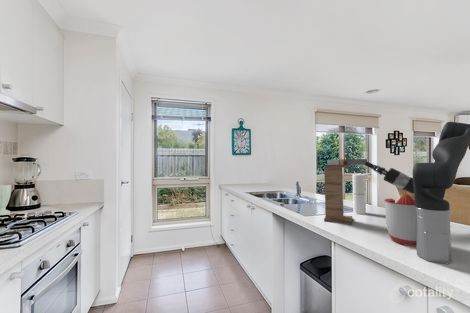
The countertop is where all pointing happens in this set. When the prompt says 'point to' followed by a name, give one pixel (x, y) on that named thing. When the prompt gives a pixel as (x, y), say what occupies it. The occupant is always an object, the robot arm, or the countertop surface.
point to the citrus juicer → (401, 220)
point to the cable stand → (335, 194)
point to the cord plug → (349, 162)
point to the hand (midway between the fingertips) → (365, 162)
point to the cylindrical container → (359, 194)
